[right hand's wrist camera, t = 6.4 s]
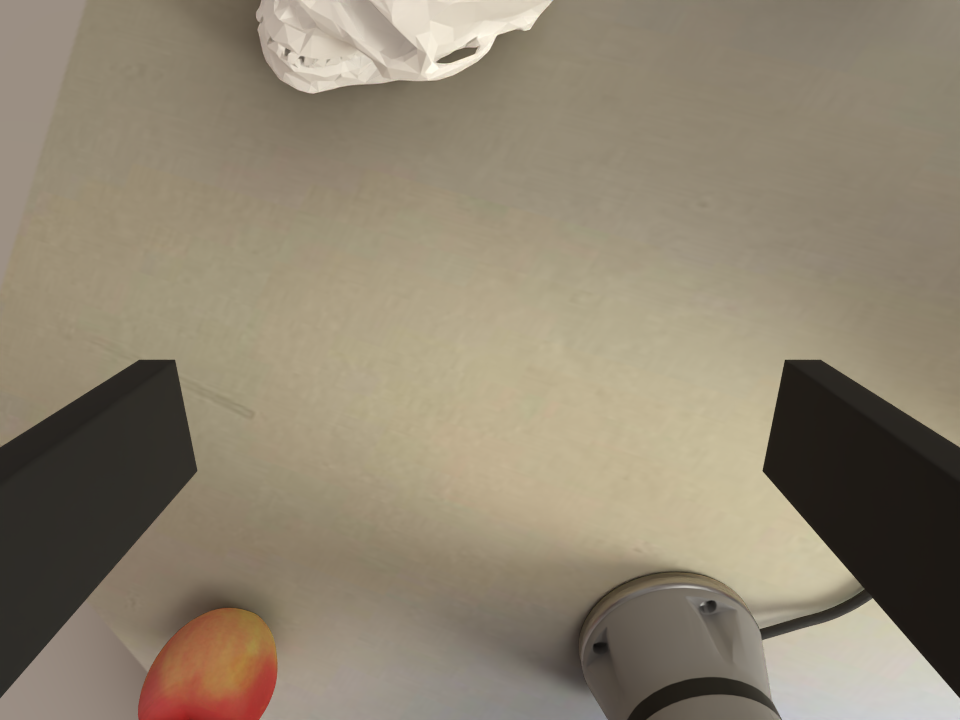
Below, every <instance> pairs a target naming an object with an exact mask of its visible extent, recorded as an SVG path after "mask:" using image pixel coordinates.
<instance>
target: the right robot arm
mask: <svg viewBox="0 0 960 720" xmlns="http://www.w3.org/2000/svg"><path fill="white" fill-rule="evenodd" d="M196 472H197V467H196V462H195V457H194V452H193V447H192V442H191V437H190V432H189V427H188V422H187V417H186V412H185V407H184V402H183V397H182V392H181V387H180V382H179V377H178V372H177V367H176V362H175V360H138V361H137V362H135V363H134V364H132V365H130V366H129V367H127V368H126V369H124V370H122V371H121V372H119V373H118V374H116V375H115V376H113V377H111V378H110V379H108V380H107V381H105V382H103V383H102V384H100V385H99V386H97V387H95V388H94V389H92V390H91V391H89V392H88V393H86V394H84V395H83V396H81V397H80V398H78V399H76V400H75V401H73V402H72V403H70V404H68V405H67V406H65V407H64V408H62V409H61V410H59V411H57V412H56V413H54V414H53V415H51V416H49V417H48V418H46V419H45V420H43V421H41V422H40V423H38V424H37V425H35V426H34V427H32V428H30V429H29V430H27V431H26V432H24V433H22V434H21V435H19V436H18V437H16V438H15V439H13V440H11V441H10V442H8V443H7V444H5V445H3V446H2V447H0V698H1V697H2V696H3V694H4V693H5V692H6V691H7V690H8V689H9V687H10V686H11V685H12V684H13V683H14V682H15V681H16V679H17V678H18V677H19V676H20V675H21V674H22V672H23V671H24V670H25V669H26V668H27V667H28V666H29V664H30V663H31V662H32V661H33V660H34V659H35V658H36V656H37V655H38V654H39V653H40V652H41V651H42V649H43V648H44V647H45V646H46V645H47V644H48V643H49V641H50V640H51V639H52V638H53V637H54V636H55V634H56V633H57V632H58V631H59V630H60V629H61V628H62V626H63V625H64V624H65V623H66V622H67V621H68V619H69V618H70V617H71V616H72V615H73V614H74V613H75V611H76V610H77V609H78V608H79V607H80V606H81V604H82V603H83V602H84V601H85V600H86V599H87V598H88V596H89V595H90V594H91V593H92V592H93V591H94V590H95V588H96V587H97V586H98V585H99V584H100V583H101V581H102V580H103V579H104V578H105V577H106V576H107V575H108V573H109V572H110V571H111V570H112V569H113V568H114V566H115V565H116V564H117V563H118V562H119V561H120V560H121V558H122V557H123V556H124V555H125V554H126V553H127V551H128V550H129V549H130V548H131V547H132V546H133V545H134V543H135V542H136V541H137V540H138V539H139V538H140V537H141V535H142V534H143V533H144V532H145V531H146V530H147V528H148V527H149V526H150V525H151V524H152V523H153V522H154V520H155V519H156V518H157V517H158V516H159V515H160V513H161V512H162V511H163V510H164V509H165V508H166V507H167V505H168V504H169V503H170V502H171V501H172V500H173V498H174V497H175V496H176V495H177V494H178V493H179V492H180V490H181V489H182V488H183V487H184V486H185V485H186V484H187V482H188V481H189V480H190V479H191V478H192V477H193V475H194V474H195V473H196ZM763 472H764V473H765V474H766V475H767V477H768V478H769V479H770V480H771V481H772V482H773V484H774V485H775V486H776V487H777V488H778V489H779V490H780V492H781V493H782V494H783V495H784V496H785V497H786V498H787V500H788V501H789V502H790V503H791V504H792V505H793V507H794V508H795V509H796V510H797V511H798V512H799V513H800V515H801V516H802V517H803V518H804V519H805V520H806V522H807V523H808V524H809V525H810V526H811V527H812V528H813V530H814V531H815V532H816V533H817V534H818V535H819V537H820V538H821V539H822V540H823V541H824V542H825V543H826V545H827V546H828V547H829V548H830V549H831V550H832V551H833V553H834V554H835V555H836V556H837V557H838V558H839V560H840V561H841V562H842V563H843V564H844V565H845V566H846V568H847V569H848V570H849V571H850V572H851V573H852V575H853V576H854V577H855V578H856V579H857V580H858V581H859V583H860V584H861V585H862V586H863V587H864V588H865V590H863V591H862V592H860V593H859V594H857V595H856V596H854V597H852V598H851V599H849V600H847V601H845V602H844V603H841V604H839V605H837V606H835V607H833V608H830V609H828V610H825V611H822V612H819V613H815V614H812V615H808V616H804V617H800V618H797V619H793V620H790V621H786V622H783V623H780V624H776V625H773V626H769V627H766V628H763V629H759V627H758V625H757V623H756V622H755V620H754V618H753V616H752V615H751V613H750V611H749V609H748V608H747V606H746V604H745V603H744V601H743V600H742V599H741V598H740V597H739V595H738V594H737V593H735V592H734V591H733V590H732V589H731V588H729V587H728V586H726V585H725V584H723V583H721V582H719V581H717V580H714V579H712V578H709V577H706V576H703V575H698V574H693V573H685V572H667V573H658V574H653V575H648V576H645V577H641V578H638V579H635V580H632V581H630V582H628V583H626V584H624V585H622V586H620V587H618V588H616V589H615V590H613V591H612V592H610V593H609V594H608V595H606V596H605V597H604V598H603V599H602V600H601V601H599V602H598V603H597V604H596V606H595V607H594V608H593V609H592V610H591V612H590V613H589V615H588V616H587V618H586V620H585V622H584V624H583V626H582V629H581V632H580V637H579V655H580V660H581V665H582V671H583V675H584V678H585V681H586V683H587V685H588V687H589V689H590V690H591V692H592V694H593V695H594V697H595V699H596V700H597V702H598V704H599V705H600V707H601V709H602V710H603V712H604V714H605V715H606V717H607V719H608V720H782V719H781V717H780V715H779V713H778V711H777V710H776V708H775V706H774V704H773V702H772V698H771V692H770V686H769V680H768V673H767V667H766V661H765V655H764V649H763V643H762V640H764V639H767V638H771V637H774V636H778V635H781V634H785V633H788V632H791V631H795V630H798V629H801V628H805V627H809V626H813V625H816V624H820V623H824V622H827V621H830V620H833V619H835V618H838V617H840V616H842V615H844V614H846V613H848V612H850V611H852V610H854V609H856V608H858V607H860V606H861V605H863V604H864V603H866V602H868V601H869V600H871V599H872V598H873V599H874V600H875V601H876V602H877V603H878V605H879V606H880V607H881V608H882V609H883V610H884V611H885V613H886V614H887V615H888V616H889V617H890V618H891V619H892V621H893V622H894V623H895V624H896V625H897V626H898V628H899V629H900V630H901V631H902V632H903V633H904V634H905V636H906V637H907V638H908V639H909V640H910V641H911V643H912V644H913V645H914V646H915V647H916V648H917V649H918V651H919V652H920V653H921V654H922V655H923V656H924V658H925V659H926V660H927V661H928V662H929V663H930V664H931V666H932V667H933V668H934V669H935V670H936V671H937V672H938V674H939V675H940V676H941V677H942V678H943V679H944V681H945V682H946V683H947V684H948V685H949V686H950V687H951V689H952V690H953V691H954V692H955V693H956V694H957V696H958V697H959V698H960V447H958V446H957V445H955V444H953V443H952V442H950V441H949V440H947V439H945V438H944V437H942V436H941V435H939V434H938V433H936V432H934V431H933V430H931V429H930V428H928V427H926V426H925V425H923V424H922V423H920V422H919V421H917V420H915V419H914V418H912V417H911V416H909V415H907V414H906V413H904V412H903V411H901V410H899V409H898V408H896V407H895V406H893V405H892V404H890V403H888V402H887V401H885V400H884V399H882V398H880V397H879V396H877V395H876V394H874V393H872V392H871V391H869V390H868V389H866V388H865V387H863V386H861V385H860V384H858V383H857V382H855V381H853V380H852V379H850V378H849V377H847V376H845V375H844V374H842V373H841V372H839V371H838V370H836V369H834V368H833V367H831V366H830V365H828V364H826V363H825V362H823V361H822V360H785V362H784V367H783V372H782V377H781V382H780V387H779V392H778V397H777V402H776V407H775V412H774V417H773V422H772V427H771V432H770V437H769V442H768V447H767V452H766V457H765V462H764V467H763Z"/></svg>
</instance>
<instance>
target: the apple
mask: <svg viewBox="0 0 960 720" xmlns="http://www.w3.org/2000/svg"><path fill="white" fill-rule="evenodd" d="M276 679H277V655H276V647H275V642H274V639H273V636H272V633H271V631H270V629H269V628H268V626H267V625H266V623H265V622H264V621H263V620H262V619H261V618H260V617H259V616H258V615H256V614H255V613H252V612H250V611H246V610H242V609H237V608H221V609H216V610H212V611H209V612H207V613H204V614H202V615H200V616H199V617H197V618H195V619H193V620H192V621H190V622H189V623H187V624H186V625H185V626H184V627H182V628H181V629H180V630H179V631H178V632H177V633H176V634H175V635H174V636H173V637H172V638H171V639H170V640H169V641H168V642H167V644H166V645H165V646H164V647H163V649H162V650H161V651H160V653H159V654H158V656H157V657H156V659H155V661H154V662H153V664H152V666H151V668H150V670H149V672H148V674H147V676H146V679H145V682H144V684H143V687H142V691H141V695H140V700H139V705H138V717H139V720H259V719H260V718H261V716H262V714H263V713H264V711H265V709H266V708H267V706H268V704H269V702H270V699H271V697H272V694H273V691H274V688H275V684H276Z"/></svg>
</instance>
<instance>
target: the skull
mask: <svg viewBox="0 0 960 720" xmlns="http://www.w3.org/2000/svg"><path fill="white" fill-rule="evenodd" d="M552 1H553V0H261V4H260V7H259V8H258V10H257V12H256V18H257V20H258V21H259V22H260V25H259V27H258V30H257V31H258V32H259V37H260V41H261V46H262V51H263V54H264V57H265V60H266V62H267V63H268V65H269V66H270V67H271V69H272V70H273V71H274V73H275V74H276V75H277V77H278V78H279V79H280V80H281V81H283V82H285V83H287V84H288V85H290V86H292V87H294V88H295V89H297V90H300V91H303V92H307V93H312V94H314V93H318V92H322V91H326V90H330V89H334V88H338V87H343V86H349V85H363V84H380V83H386V82H391V81H396V80H407V81H434V80H440V79H443V78H446V77H449V76H453V75H455V74H457V73H459V72H460V71H462V70H464V69H465V68H467V67H469V66H471V65H472V64H474V63H476V62H478V61H479V60H480V59H481V58H482V57H483V56H484V55H485V54H486V53H487V52H488V51H489V50H490V48H491V46H492V44H493V42H494V40H495V38H496V36H497V35H499V34H502V33H506V32H509V31H512V30H515V29H517V30H523V31H526V30H530V29H531V27H532V26H533V24H534V23H535V21H536V20H537V18H538V17H539V15H540V14H541V13H542V12H543V11H544V10H545V9H546V8H547V7H548V5H549V4H550V3H551V2H552ZM477 46H478V49H477V51H476V52H475V54H474V55H471V56H468V57H466V58H463V59H460V60H458V61H455V62H452V63H445V64H444V63H436V62H437V61H438V60H439V59H440V58H443V57H445V56H447V55H449V54H451V53H452V52H453V51H455V50H459V49H462V48H465V47H477Z"/></svg>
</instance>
